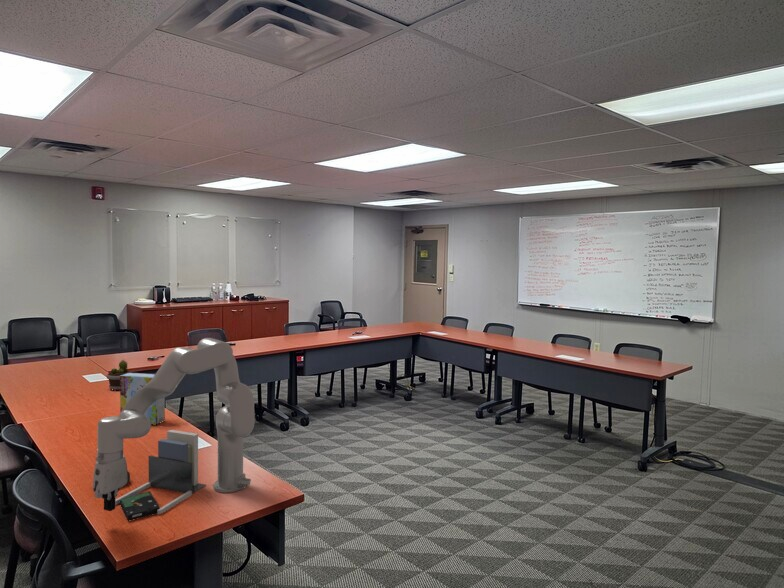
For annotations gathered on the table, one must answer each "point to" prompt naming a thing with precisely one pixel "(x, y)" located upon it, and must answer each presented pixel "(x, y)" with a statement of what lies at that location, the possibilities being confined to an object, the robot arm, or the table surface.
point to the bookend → (171, 475)
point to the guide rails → (161, 507)
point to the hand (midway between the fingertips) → (109, 509)
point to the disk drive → (139, 505)
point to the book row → (181, 449)
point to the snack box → (132, 385)
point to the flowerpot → (117, 375)
